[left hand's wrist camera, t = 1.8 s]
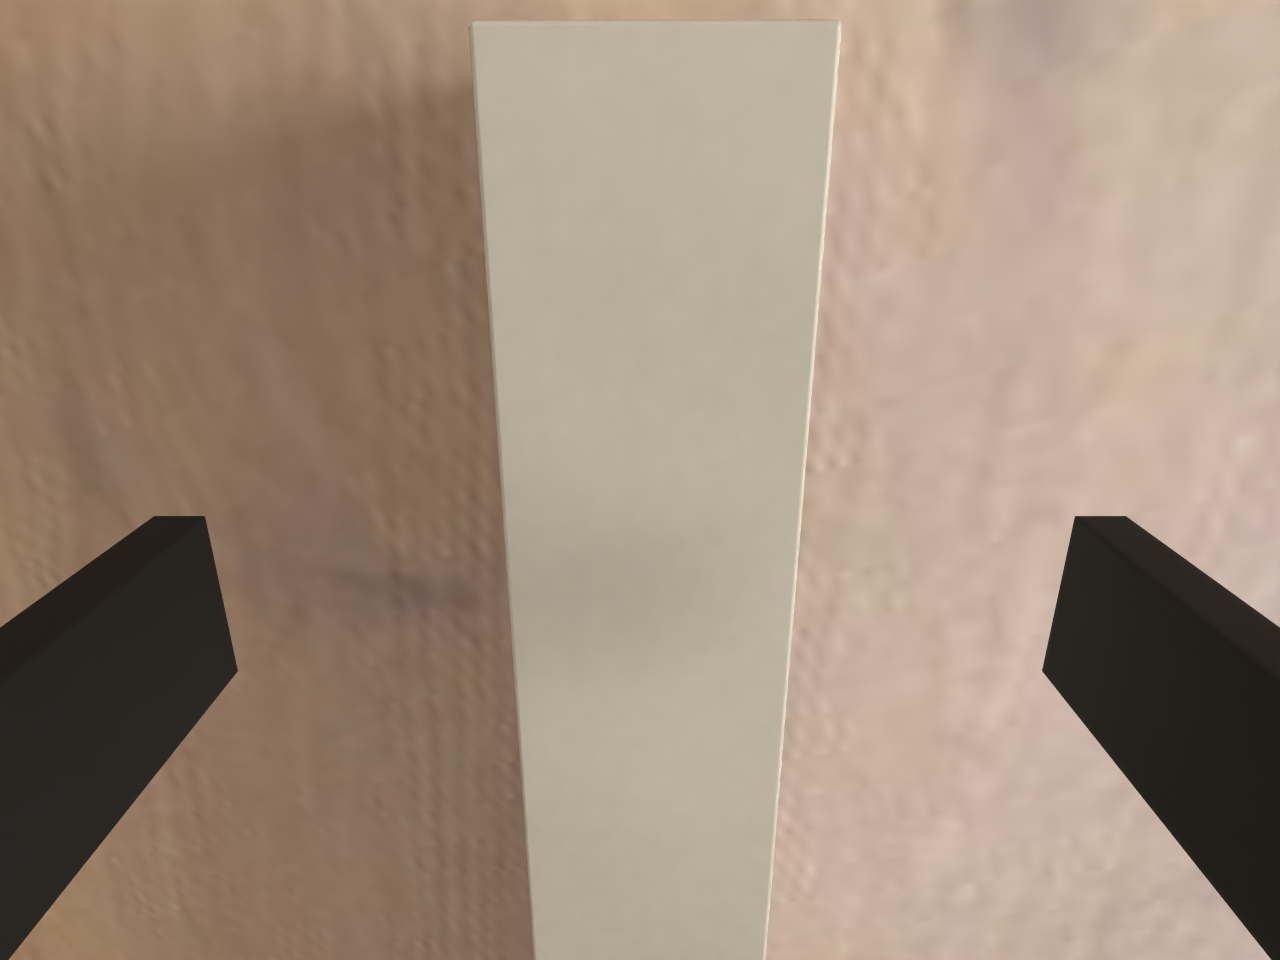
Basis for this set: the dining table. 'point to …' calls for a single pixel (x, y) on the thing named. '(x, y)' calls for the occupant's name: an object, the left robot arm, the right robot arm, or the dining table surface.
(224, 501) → the dining table surface
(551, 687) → the bar
